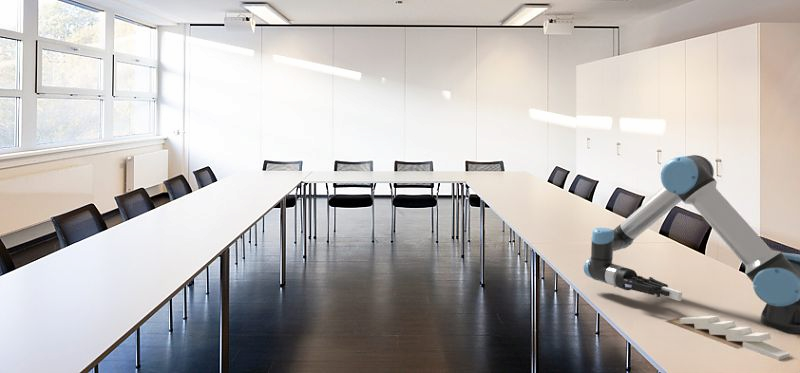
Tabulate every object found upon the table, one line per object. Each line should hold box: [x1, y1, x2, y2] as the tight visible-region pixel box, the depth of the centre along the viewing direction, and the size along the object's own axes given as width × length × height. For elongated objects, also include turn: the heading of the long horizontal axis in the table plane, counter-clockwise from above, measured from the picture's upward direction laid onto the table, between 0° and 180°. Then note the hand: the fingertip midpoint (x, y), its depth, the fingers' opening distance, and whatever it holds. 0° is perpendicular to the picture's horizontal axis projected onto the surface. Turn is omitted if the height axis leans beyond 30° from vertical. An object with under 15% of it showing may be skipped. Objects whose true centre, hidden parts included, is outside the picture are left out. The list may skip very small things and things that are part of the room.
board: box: [665, 316, 743, 350], centre depth 178 cm, size 10×24×1 cm, turn 27°
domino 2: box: [694, 320, 737, 329], centre depth 177 cm, size 2×5×10 cm
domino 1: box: [678, 315, 720, 324], centre depth 181 cm, size 2×5×10 cm
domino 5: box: [742, 341, 790, 361], centre depth 163 cm, size 2×5×10 cm
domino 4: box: [726, 332, 772, 342], centre depth 168 cm, size 2×5×10 cm
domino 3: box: [709, 326, 753, 336], centre depth 172 cm, size 2×5×10 cm
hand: (680, 296), depth 187 cm, fingers closed
